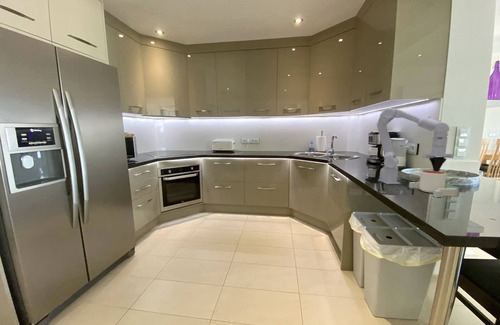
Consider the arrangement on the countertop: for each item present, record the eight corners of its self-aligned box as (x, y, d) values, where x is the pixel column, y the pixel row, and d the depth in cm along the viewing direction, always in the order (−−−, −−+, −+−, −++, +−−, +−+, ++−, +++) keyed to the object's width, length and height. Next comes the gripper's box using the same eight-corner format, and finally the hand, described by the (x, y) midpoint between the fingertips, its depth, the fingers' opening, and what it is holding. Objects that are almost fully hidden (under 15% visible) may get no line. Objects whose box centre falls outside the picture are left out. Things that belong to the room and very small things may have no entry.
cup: (449, 193, 107) (451, 174, 106) (428, 193, 107) (431, 173, 106) (432, 188, 117) (434, 170, 115) (414, 188, 117) (415, 170, 116)
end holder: (415, 188, 118) (416, 180, 118) (433, 188, 118) (434, 180, 117) (437, 196, 104) (438, 187, 103) (458, 196, 104) (459, 187, 103)
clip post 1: (408, 187, 120) (409, 182, 120) (413, 187, 120) (413, 182, 120) (411, 188, 118) (412, 183, 118) (415, 188, 118) (416, 182, 118)
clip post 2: (432, 196, 104) (433, 190, 104) (437, 196, 104) (438, 190, 104) (436, 197, 102) (437, 191, 102) (441, 197, 102) (442, 191, 102)
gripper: (431, 146, 110) (428, 172, 113) (460, 146, 110) (456, 172, 112) (420, 145, 117) (418, 170, 120) (447, 145, 117) (444, 169, 119)
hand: (436, 171), depth 116 cm, fingers closed
